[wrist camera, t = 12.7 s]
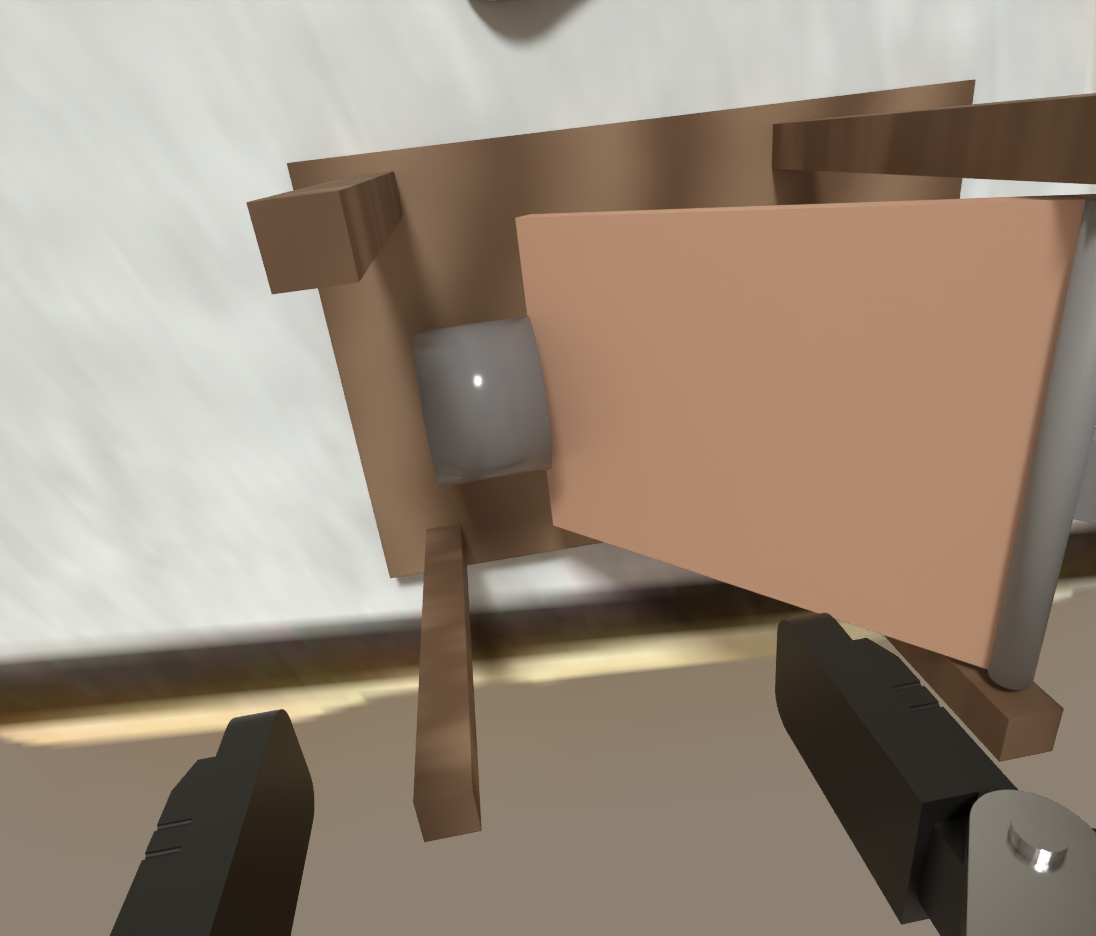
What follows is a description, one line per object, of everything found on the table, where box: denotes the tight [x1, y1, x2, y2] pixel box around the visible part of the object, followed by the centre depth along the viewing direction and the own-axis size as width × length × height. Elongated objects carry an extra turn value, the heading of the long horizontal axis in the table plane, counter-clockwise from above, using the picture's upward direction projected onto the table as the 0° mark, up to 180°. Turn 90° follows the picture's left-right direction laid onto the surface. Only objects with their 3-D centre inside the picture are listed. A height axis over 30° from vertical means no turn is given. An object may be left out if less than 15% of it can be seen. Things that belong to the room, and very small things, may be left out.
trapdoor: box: [515, 194, 1096, 690], centre depth 19 cm, size 23×12×5 cm
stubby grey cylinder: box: [414, 316, 552, 487], centre depth 25 cm, size 6×6×4 cm
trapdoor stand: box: [246, 80, 1096, 842], centre depth 22 cm, size 25×17×16 cm
